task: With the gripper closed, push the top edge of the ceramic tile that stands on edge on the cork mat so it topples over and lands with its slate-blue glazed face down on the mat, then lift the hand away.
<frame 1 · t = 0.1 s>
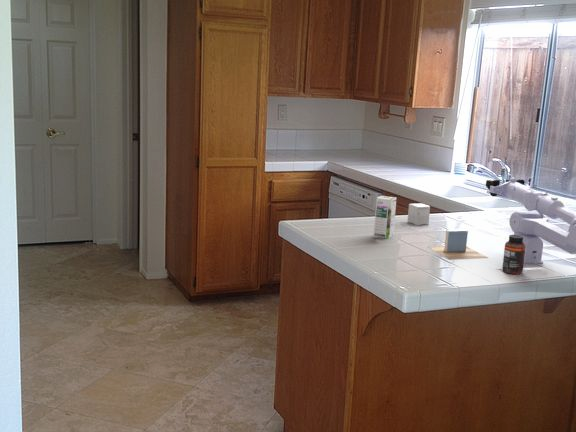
hand: (496, 182, 229), 22 cm above the countertop, tool horizontal, fingers open, 7 cm apart
syrup box: (383, 237, 237), on the countertop
white stone block: (417, 223, 261), on the countertop
supplement bottle: (512, 272, 202), on the countertop
cork mat: (457, 253, 219), on the countertop
tile: (455, 250, 220), point 1 cm above the countertop, touching cork mat
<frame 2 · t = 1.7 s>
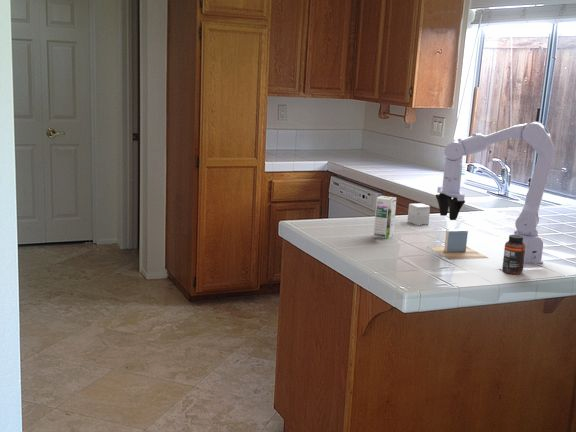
hand: (448, 217, 224), 10 cm above the countertop, tool pointing down, fingers open, 6 cm apart
nothing on the countertop moved.
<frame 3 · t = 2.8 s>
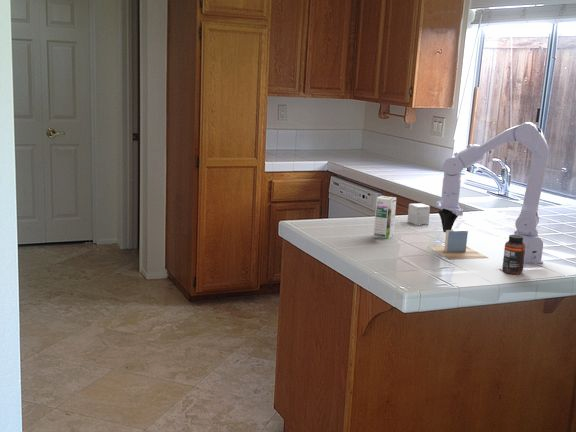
hand: (446, 231, 225), 5 cm above the countertop, tool pointing down, fingers closed
nothing on the countertop moved.
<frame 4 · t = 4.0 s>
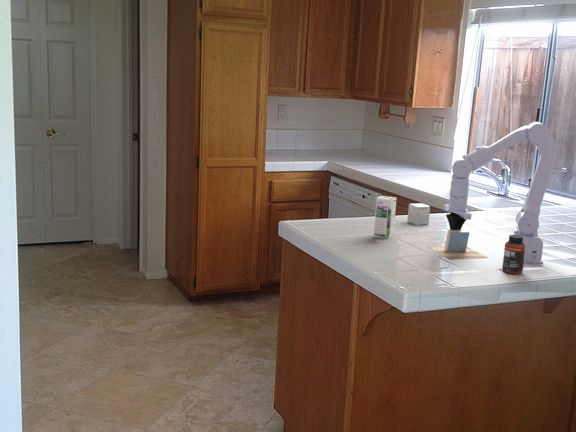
hand: (454, 236, 220), 5 cm above the countertop, tool pointing down, fingers closed
tile: (455, 250, 220), point 1 cm above the countertop, tilted 9°, touching cork mat, gripper
everything else where it was.
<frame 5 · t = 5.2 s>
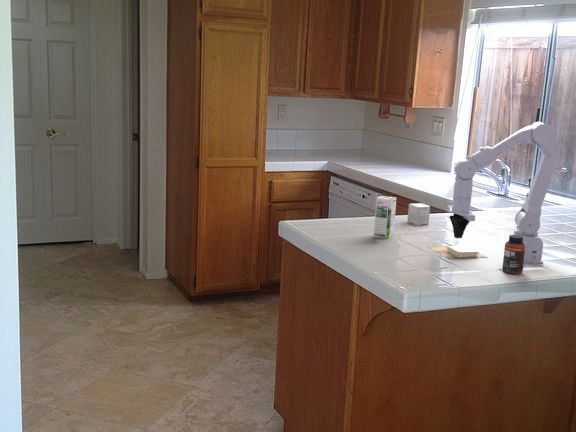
hand: (458, 237, 218), 5 cm above the countertop, tool pointing down, fingers closed
tile: (456, 248, 219), point 2 cm above the countertop, tilted 90°, touching cork mat
everything else where it was.
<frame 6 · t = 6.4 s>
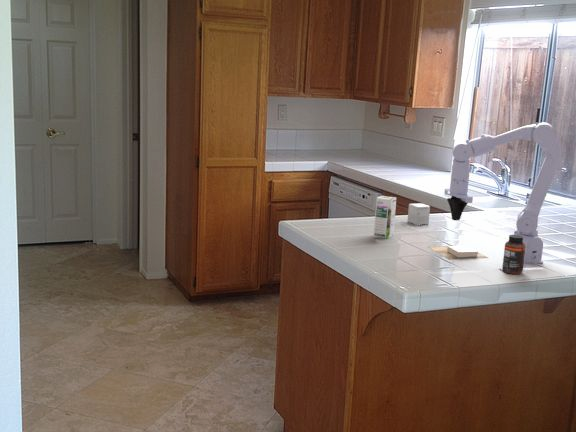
hand: (455, 219, 221), 10 cm above the countertop, tool pointing down, fingers closed
nothing on the countertop moved.
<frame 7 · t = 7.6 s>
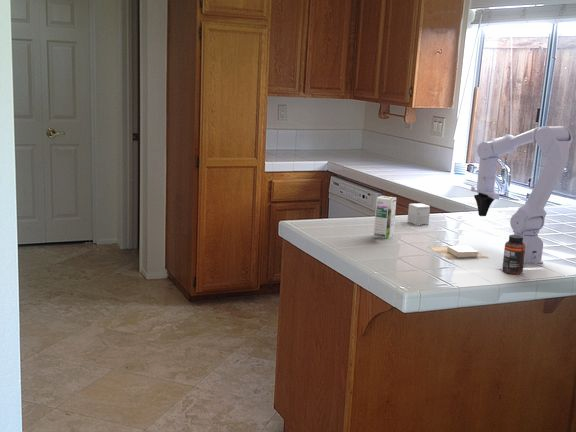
hand: (482, 215, 229), 10 cm above the countertop, tool pointing down, fingers closed
nothing on the countertop moved.
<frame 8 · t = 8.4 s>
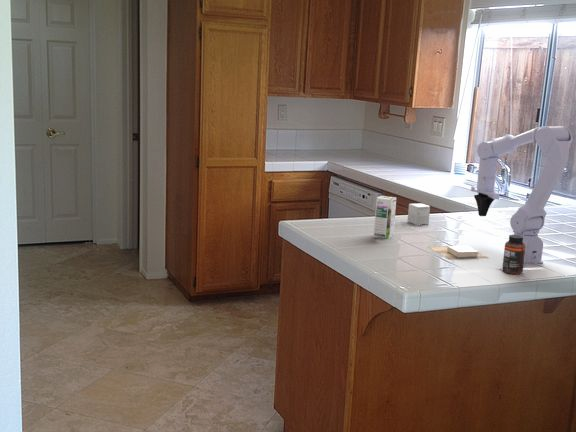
hand: (482, 215, 229), 10 cm above the countertop, tool pointing down, fingers closed
nothing on the countertop moved.
at the end: tile tilted 90°; tile inside the target area (3.2 cm from its centre), point 1.6 cm above the countertop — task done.
